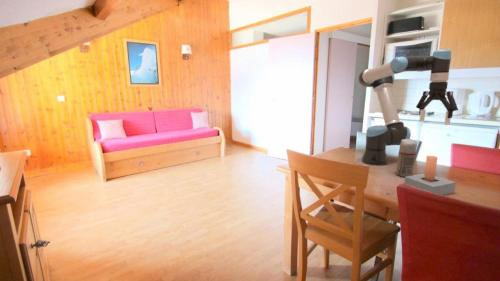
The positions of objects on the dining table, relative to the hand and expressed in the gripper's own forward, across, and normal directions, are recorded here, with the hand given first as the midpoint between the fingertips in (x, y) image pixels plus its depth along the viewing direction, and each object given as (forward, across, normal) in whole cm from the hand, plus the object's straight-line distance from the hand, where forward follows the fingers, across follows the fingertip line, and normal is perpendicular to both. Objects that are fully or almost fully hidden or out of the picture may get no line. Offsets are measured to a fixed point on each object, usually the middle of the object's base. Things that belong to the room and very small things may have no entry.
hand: (433, 122), depth 135 cm
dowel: (+29, +15, -19) cm, 38 cm away
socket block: (+29, +15, -19) cm, 38 cm away
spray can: (+29, -4, -12) cm, 32 cm away
